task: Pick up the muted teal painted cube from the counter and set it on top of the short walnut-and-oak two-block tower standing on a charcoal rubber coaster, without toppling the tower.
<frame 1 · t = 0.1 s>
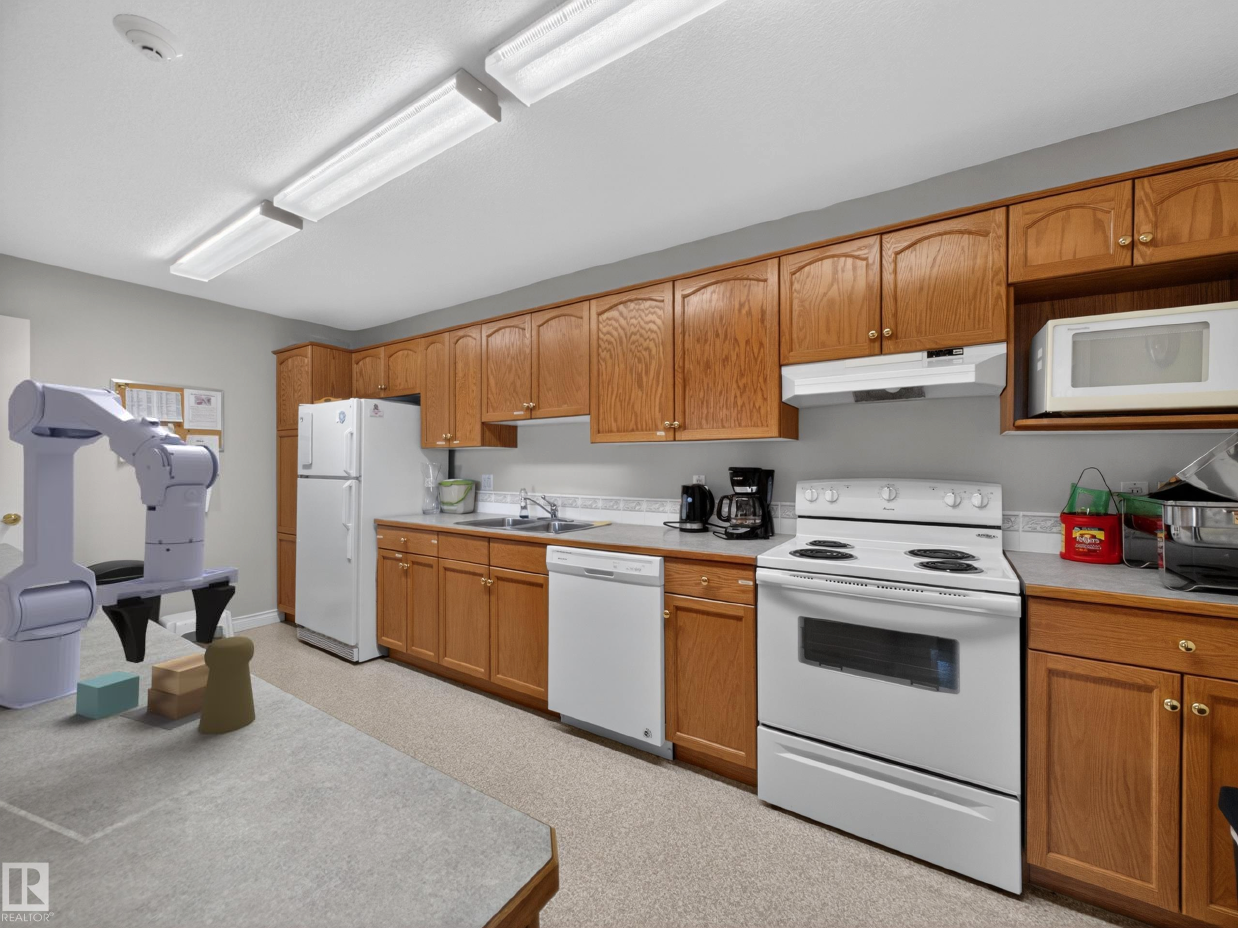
hand: (171, 651, 67), 10 cm above the counter, tool pointing down, fingers open, 7 cm apart
oak top block: (187, 684, 73), point 3 cm above the counter, touching walnut base block
cork: (227, 727, 69), on the counter
teal block: (107, 713, 72), on the counter
walnut base block: (187, 706, 73), resting on coaster mat, touching oak top block
coaster mat: (186, 709, 73), on the counter
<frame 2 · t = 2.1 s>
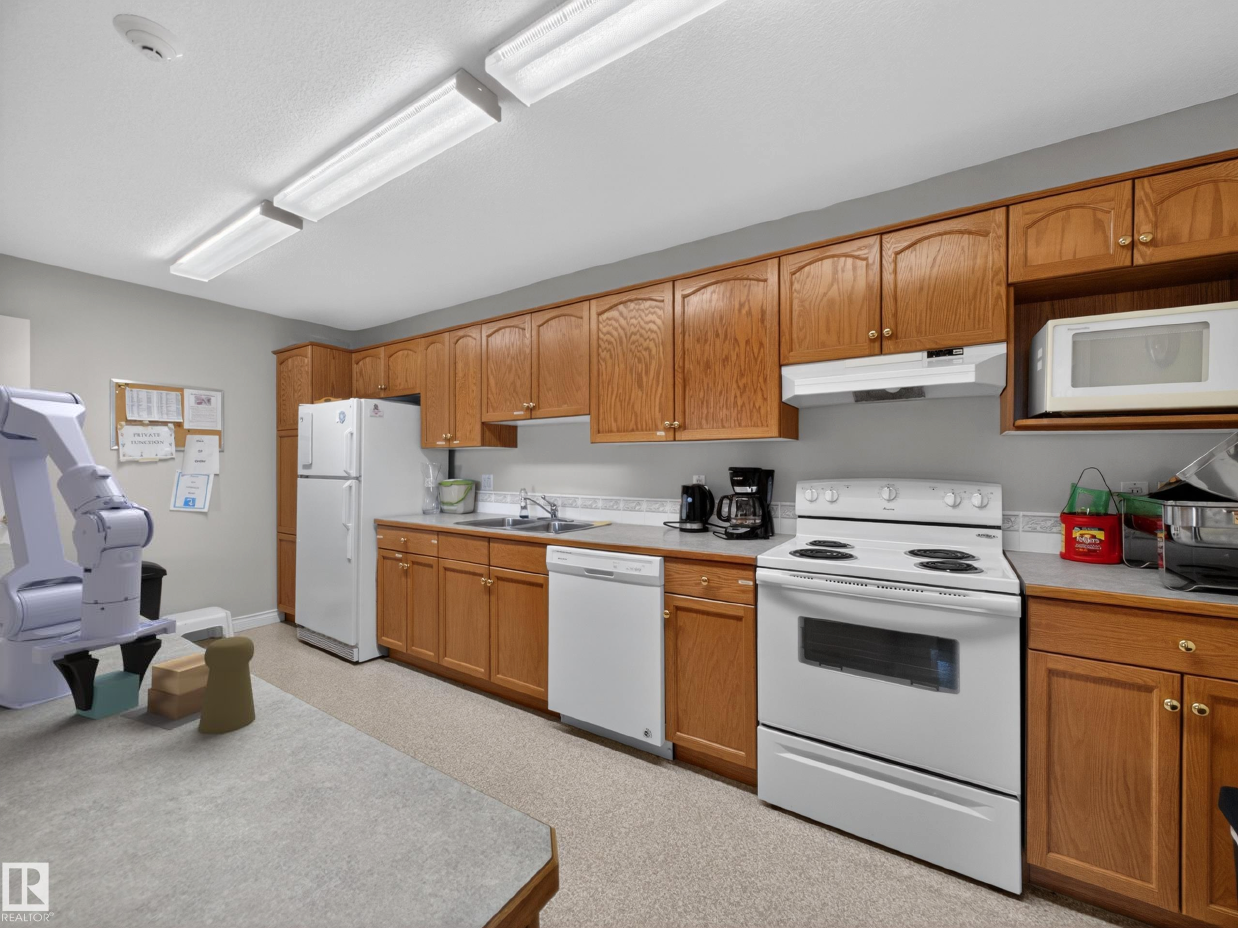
hand: (108, 701, 72), 1 cm above the counter, tool pointing down, fingers closed on teal block, 4 cm apart
teal block: (107, 712, 72), on the counter, touching gripper
everything else where it was.
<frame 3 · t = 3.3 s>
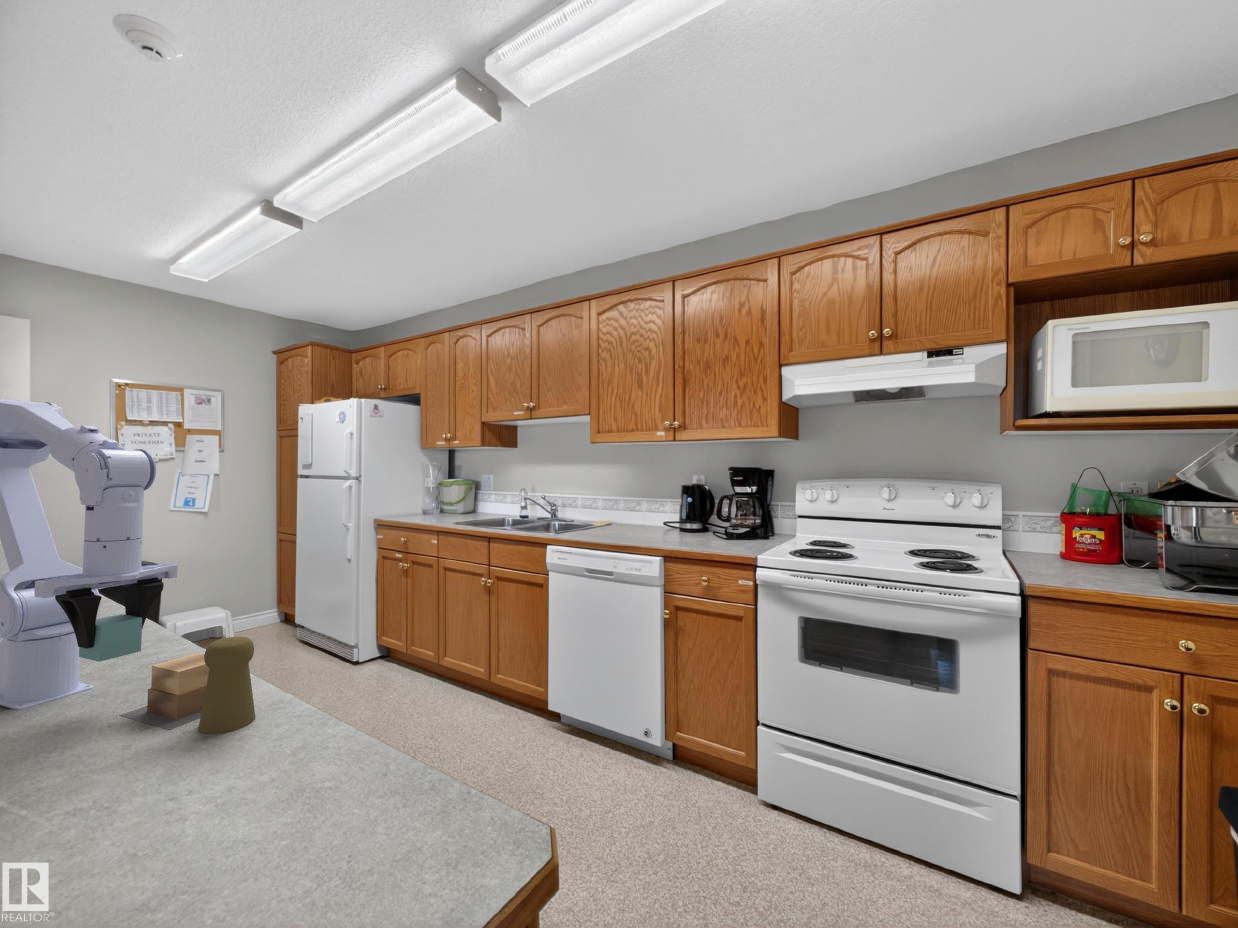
hand: (110, 641, 72), 9 cm above the counter, tool pointing down, fingers closed on teal block, 4 cm apart
teal block: (110, 653, 72), point 8 cm above the counter, touching gripper
everything else where it was.
when the fingers open (9 cm above the counter, at t = 4.7 s): teal block stays where it is, resting on oak top block.
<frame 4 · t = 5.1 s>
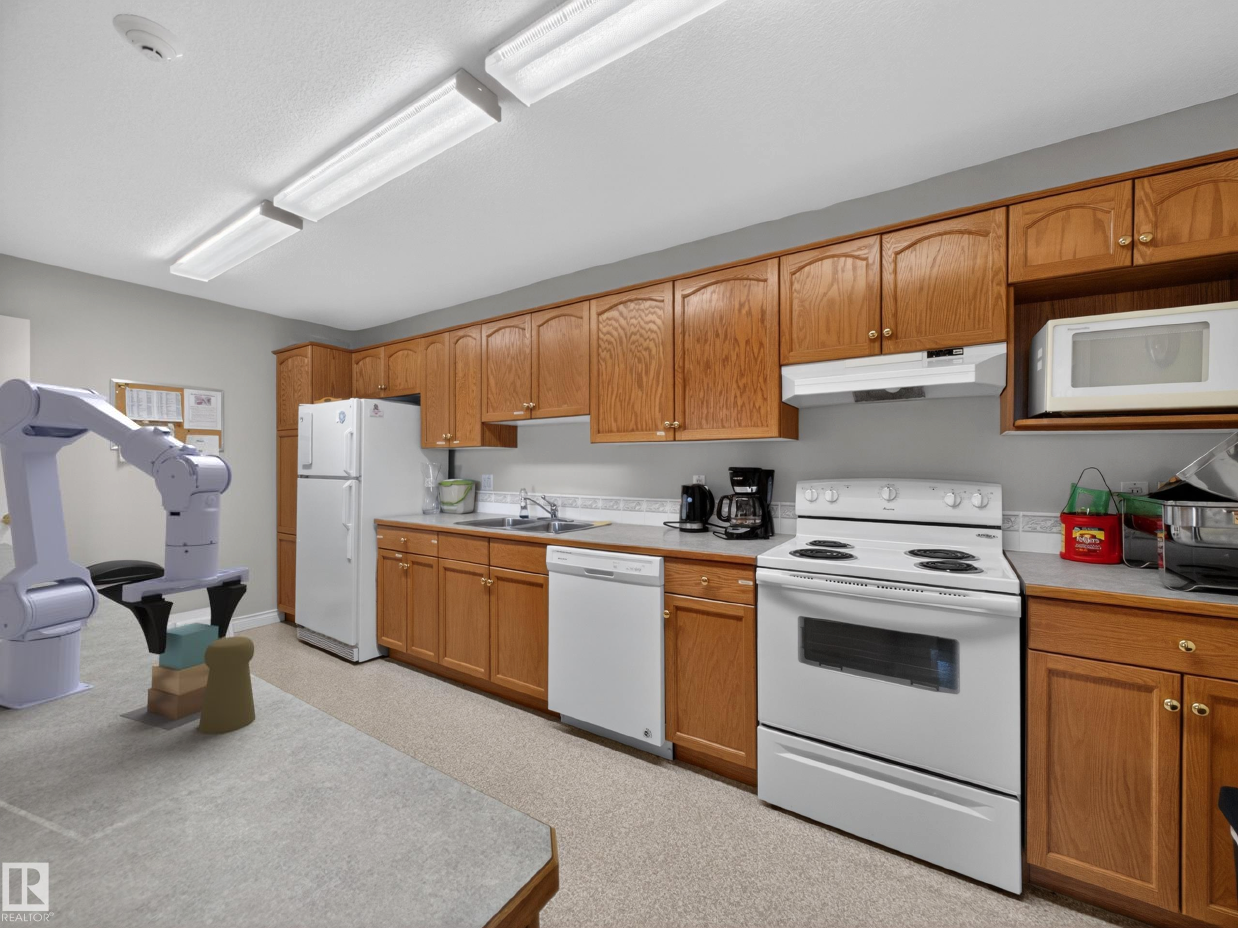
hand: (189, 644, 73), 9 cm above the counter, tool pointing down, fingers open, 7 cm apart
oak top block: (187, 684, 73), point 3 cm above the counter, touching teal block, walnut base block
teal block: (188, 662, 73), point 6 cm above the counter, touching oak top block
everything else where it was.
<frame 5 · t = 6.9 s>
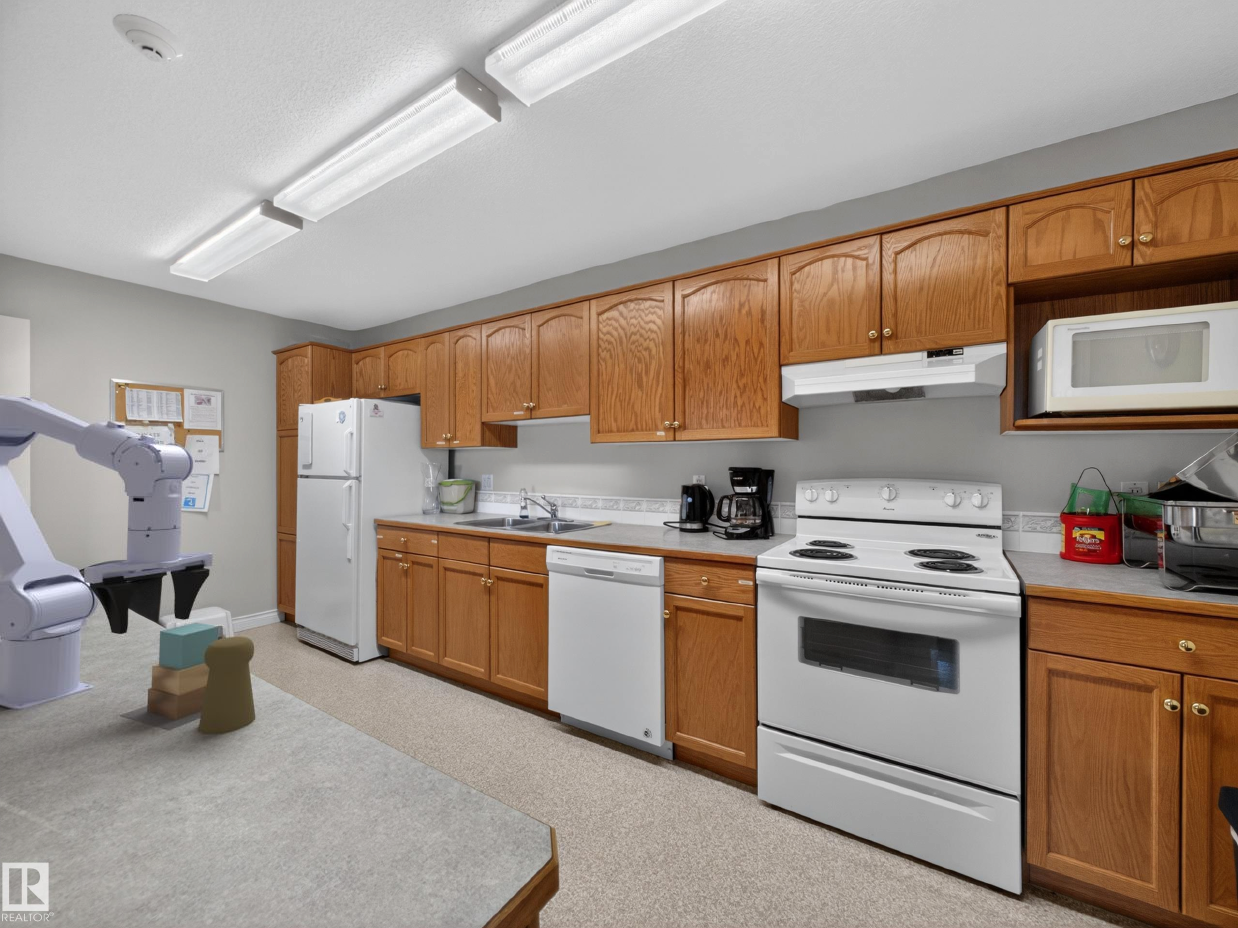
hand: (151, 625, 76), 10 cm above the counter, tool pointing down, fingers open, 7 cm apart
nothing on the counter moved.
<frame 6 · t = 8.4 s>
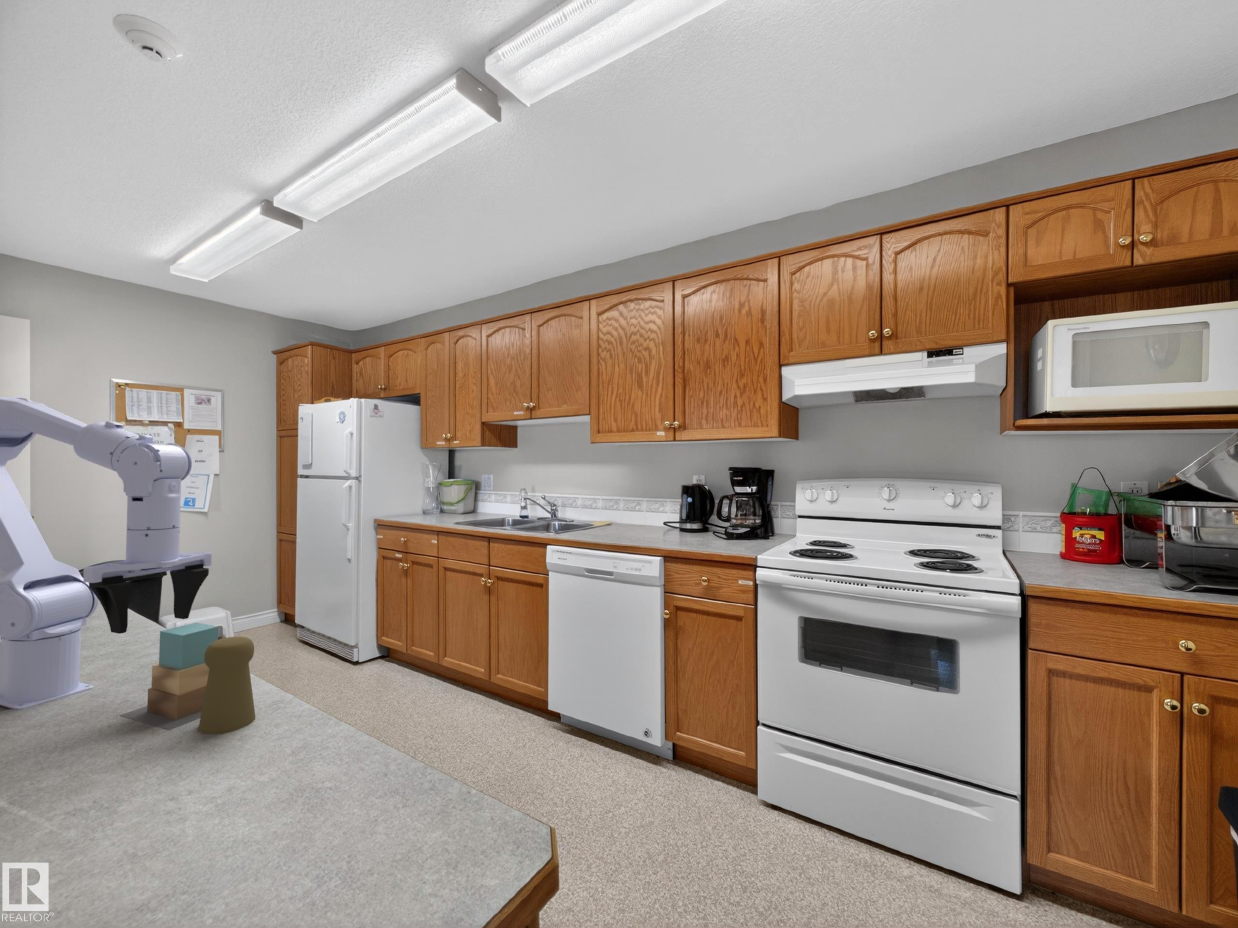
hand: (151, 624, 76), 10 cm above the counter, tool pointing down, fingers open, 7 cm apart
nothing on the counter moved.
at the end: teal block 0.1 cm off-centre on the oak top block, point 3.0 cm above the oak top block's base; oak top block moved 0.0 cm from its start; oak top block tilted 0° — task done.
